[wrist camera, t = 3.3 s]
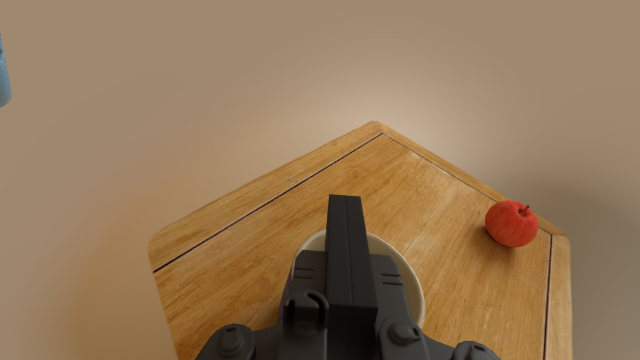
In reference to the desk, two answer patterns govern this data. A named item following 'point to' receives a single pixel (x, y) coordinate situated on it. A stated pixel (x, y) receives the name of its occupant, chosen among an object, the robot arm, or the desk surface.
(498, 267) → the desk surface
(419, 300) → the planter
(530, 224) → the apple
